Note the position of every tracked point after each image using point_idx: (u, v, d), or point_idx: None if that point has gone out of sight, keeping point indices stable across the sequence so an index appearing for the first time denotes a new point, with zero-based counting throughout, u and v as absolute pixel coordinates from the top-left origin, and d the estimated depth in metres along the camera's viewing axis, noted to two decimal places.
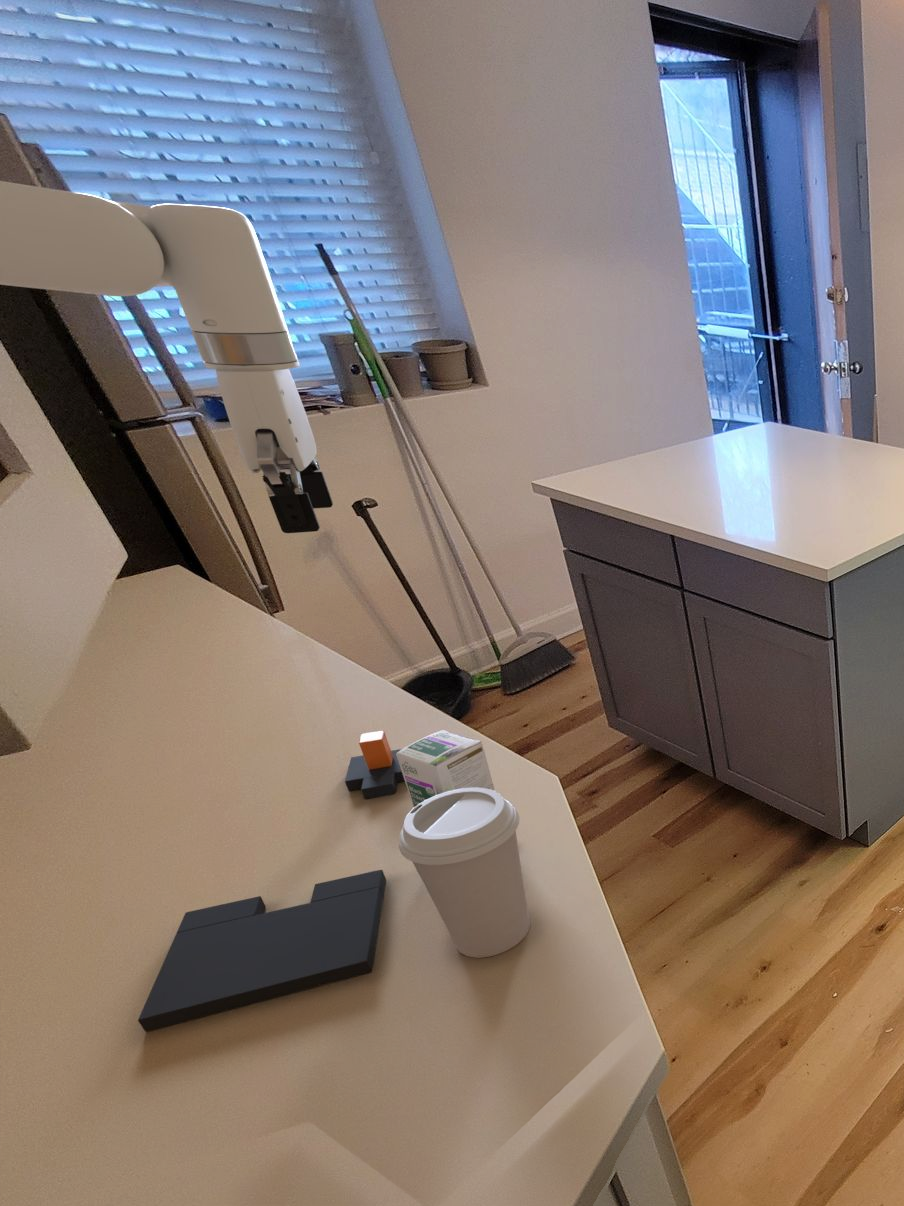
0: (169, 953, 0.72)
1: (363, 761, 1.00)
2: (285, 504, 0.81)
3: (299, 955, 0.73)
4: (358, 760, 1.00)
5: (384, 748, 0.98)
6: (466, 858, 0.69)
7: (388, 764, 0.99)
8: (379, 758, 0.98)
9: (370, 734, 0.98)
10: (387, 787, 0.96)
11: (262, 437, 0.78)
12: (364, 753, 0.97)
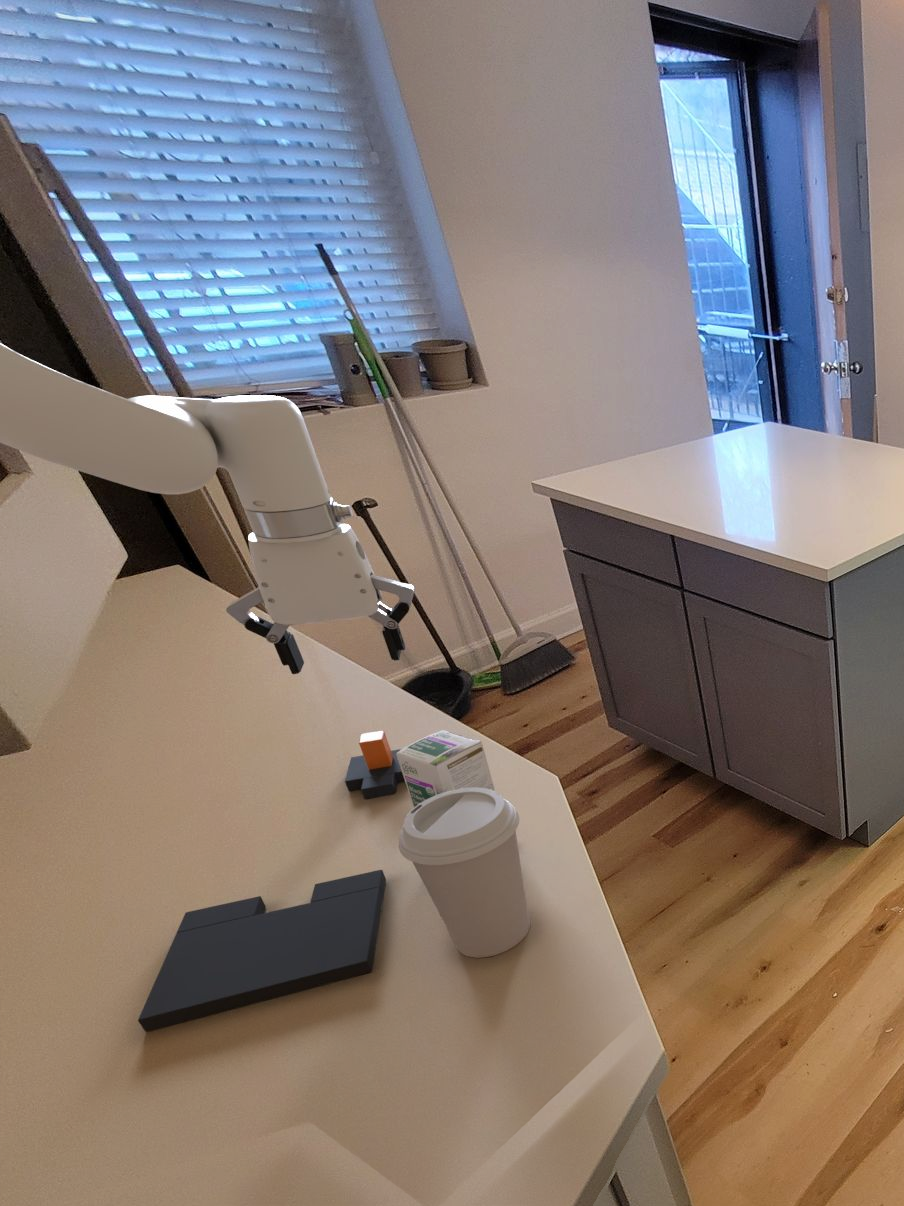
0: (169, 953, 0.72)
1: (363, 761, 1.00)
2: None
3: (299, 955, 0.73)
4: (358, 760, 1.00)
5: (384, 748, 0.98)
6: (466, 858, 0.69)
7: (388, 764, 0.99)
8: (379, 758, 0.98)
9: (370, 734, 0.98)
10: (387, 787, 0.96)
11: (255, 589, 0.86)
12: (364, 753, 0.97)
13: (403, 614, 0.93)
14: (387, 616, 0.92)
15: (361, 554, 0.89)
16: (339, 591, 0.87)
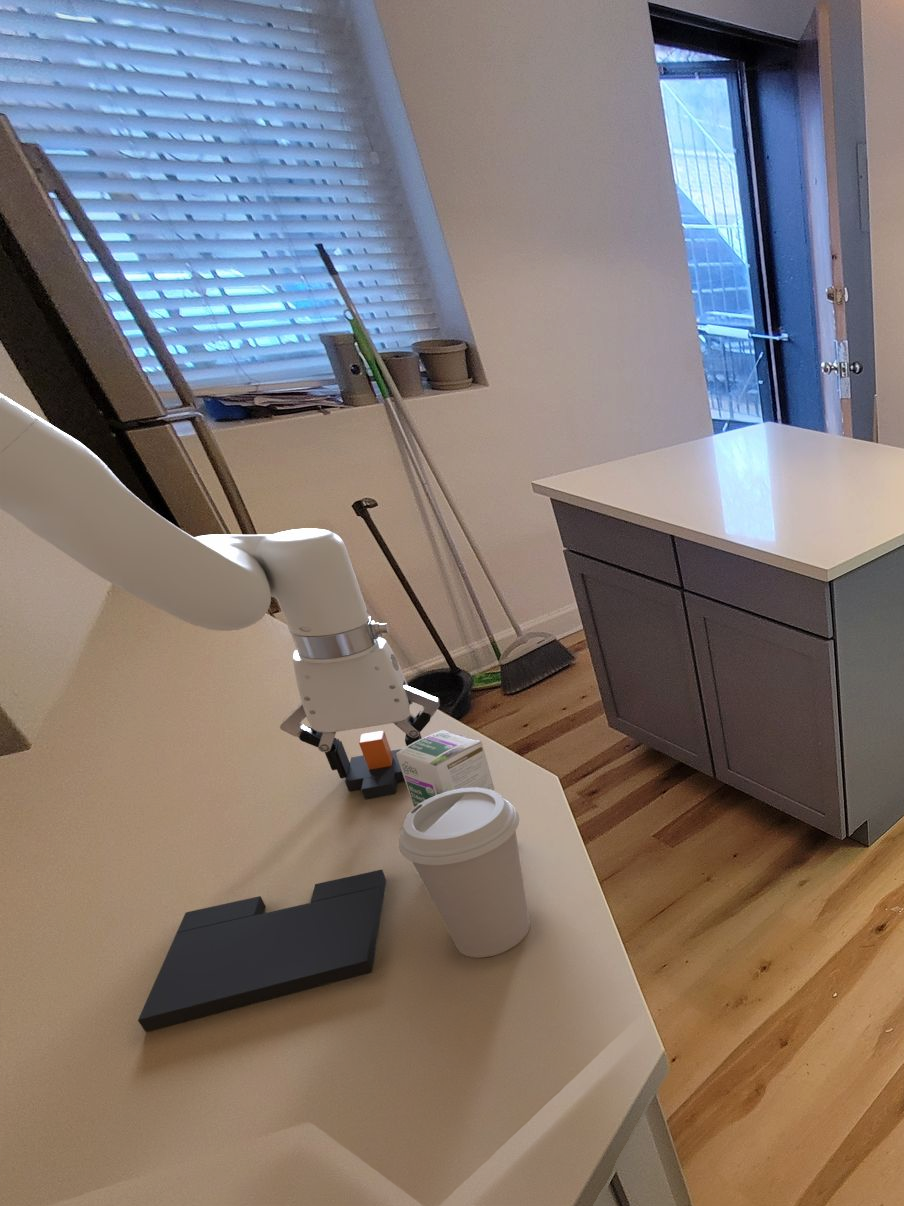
0: (169, 953, 0.72)
1: (363, 761, 1.00)
2: None
3: (299, 955, 0.73)
4: (358, 760, 1.00)
5: (384, 748, 0.98)
6: (466, 858, 0.69)
7: (388, 764, 0.99)
8: (379, 758, 0.98)
9: (370, 734, 0.98)
10: (387, 787, 0.96)
11: (300, 704, 0.93)
12: (364, 753, 0.97)
13: (424, 723, 0.99)
14: (412, 726, 0.98)
15: (395, 665, 0.96)
16: (375, 701, 0.94)
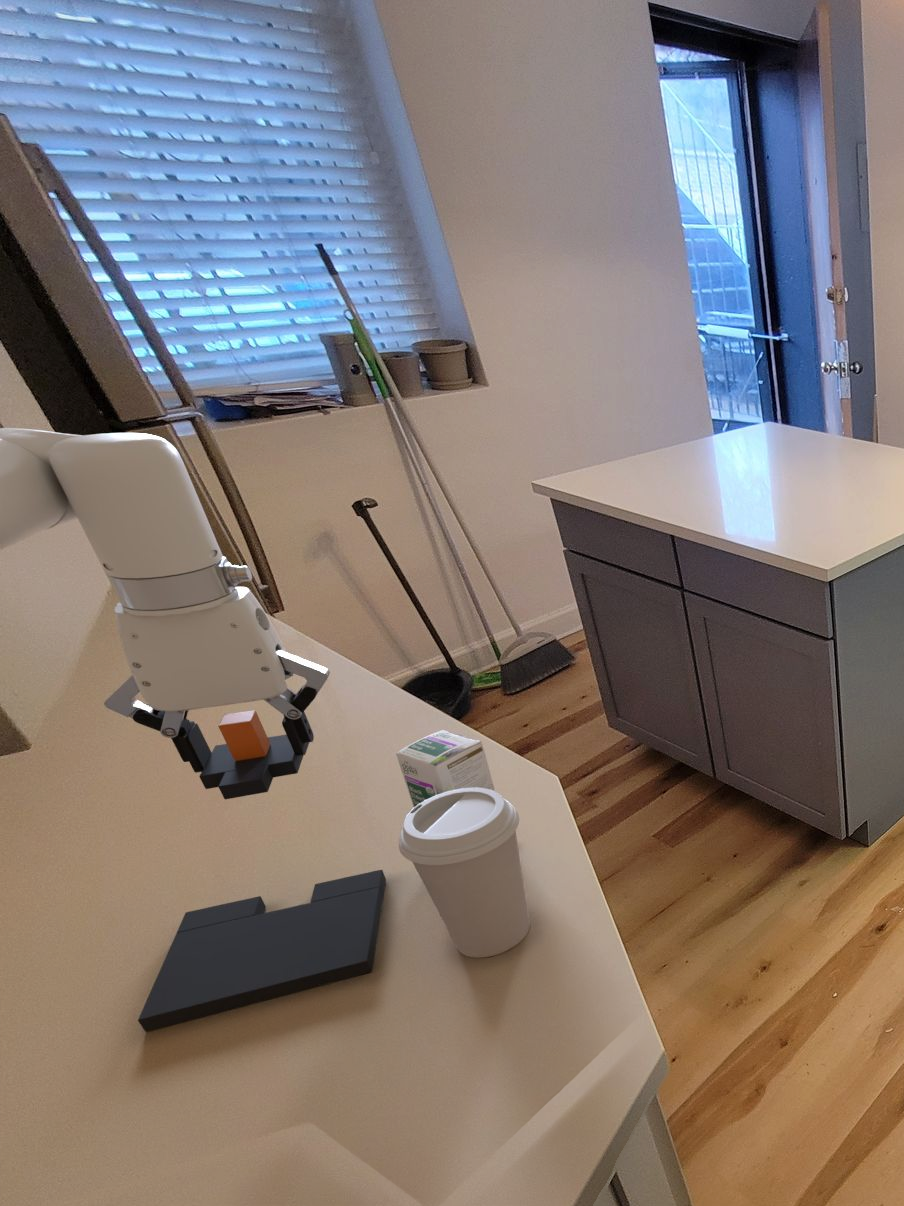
0: (169, 953, 0.72)
1: (230, 750, 0.77)
2: None
3: (299, 955, 0.73)
4: (224, 748, 0.77)
5: (254, 733, 0.75)
6: (466, 858, 0.69)
7: (261, 754, 0.76)
8: (248, 746, 0.75)
9: (236, 715, 0.75)
10: (255, 784, 0.73)
11: None
12: (226, 739, 0.74)
13: (308, 701, 0.76)
14: (290, 704, 0.75)
15: (264, 623, 0.73)
16: (234, 670, 0.71)
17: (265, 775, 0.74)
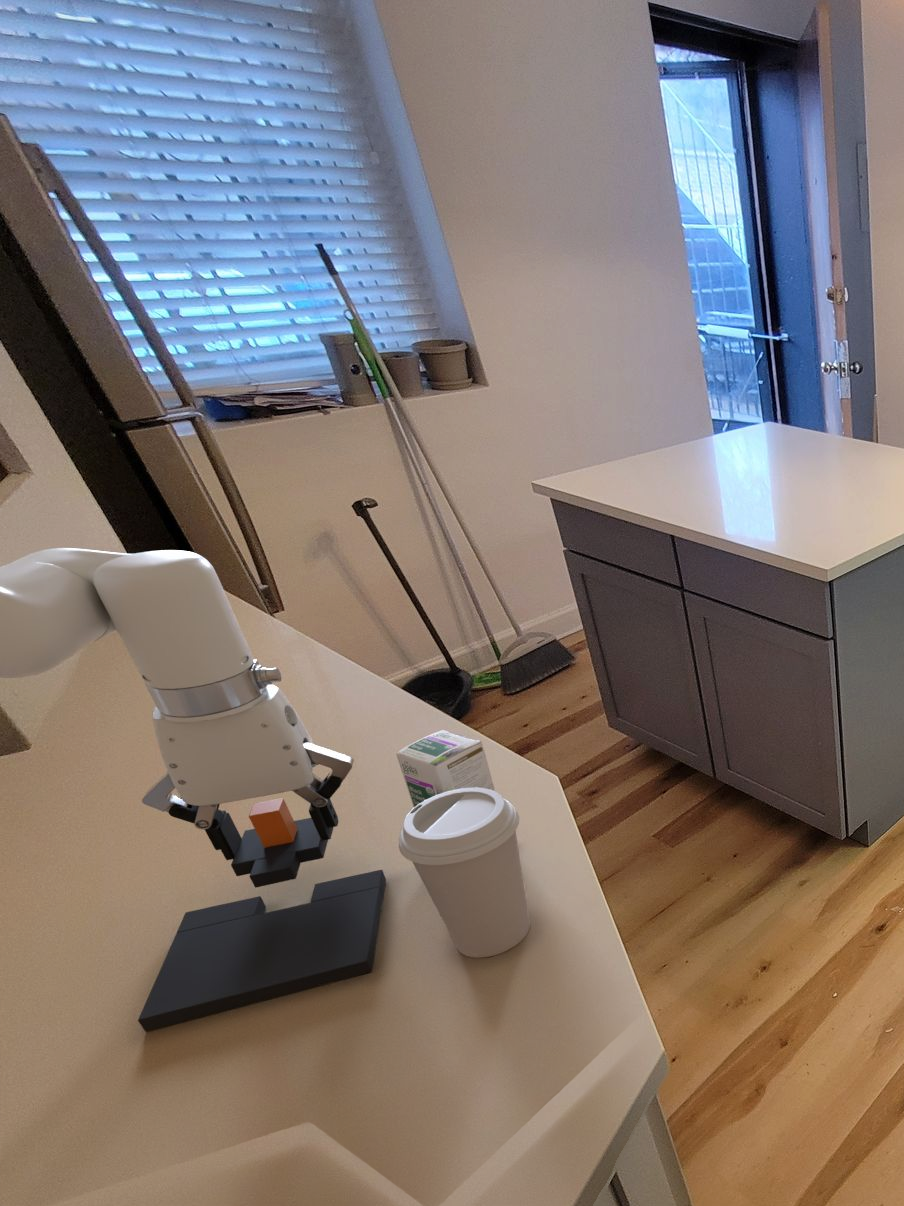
0: (169, 953, 0.72)
1: (259, 836, 0.80)
2: None
3: (299, 955, 0.73)
4: (253, 834, 0.81)
5: (282, 821, 0.79)
6: (466, 858, 0.69)
7: (289, 840, 0.80)
8: (277, 834, 0.79)
9: (265, 804, 0.79)
10: (284, 872, 0.77)
11: None
12: (256, 828, 0.78)
13: (334, 789, 0.80)
14: (317, 793, 0.79)
15: (292, 718, 0.76)
16: (264, 766, 0.74)
17: (293, 862, 0.78)
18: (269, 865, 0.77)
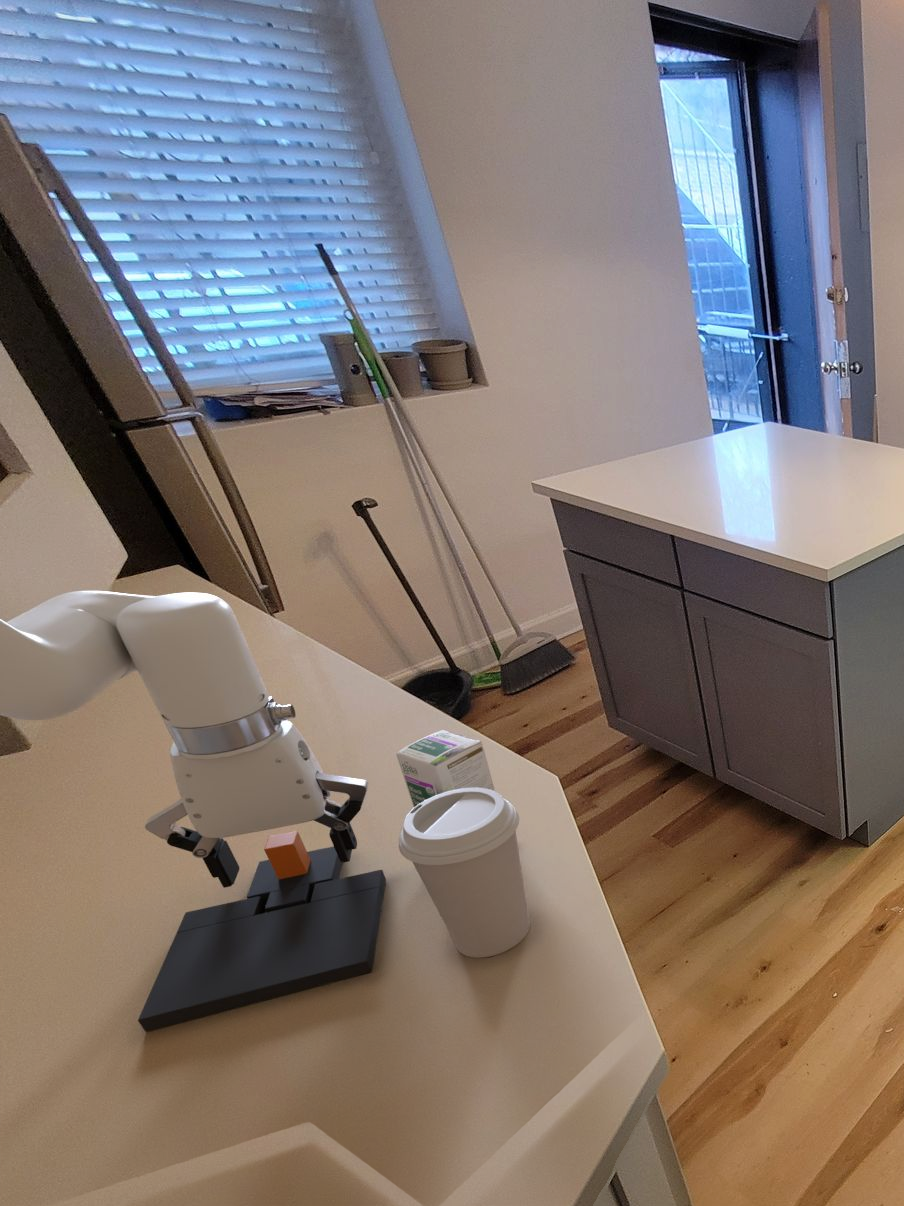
0: (169, 953, 0.72)
1: None
2: None
3: (299, 955, 0.73)
4: (267, 865, 0.83)
5: (297, 854, 0.81)
6: (466, 858, 0.69)
7: (303, 872, 0.82)
8: (291, 866, 0.81)
9: (280, 836, 0.81)
10: (298, 904, 0.79)
11: (179, 801, 0.75)
12: (271, 861, 0.80)
13: (354, 813, 0.82)
14: (335, 818, 0.81)
15: (305, 752, 0.78)
16: (278, 800, 0.76)
17: (307, 894, 0.80)
18: (284, 897, 0.79)
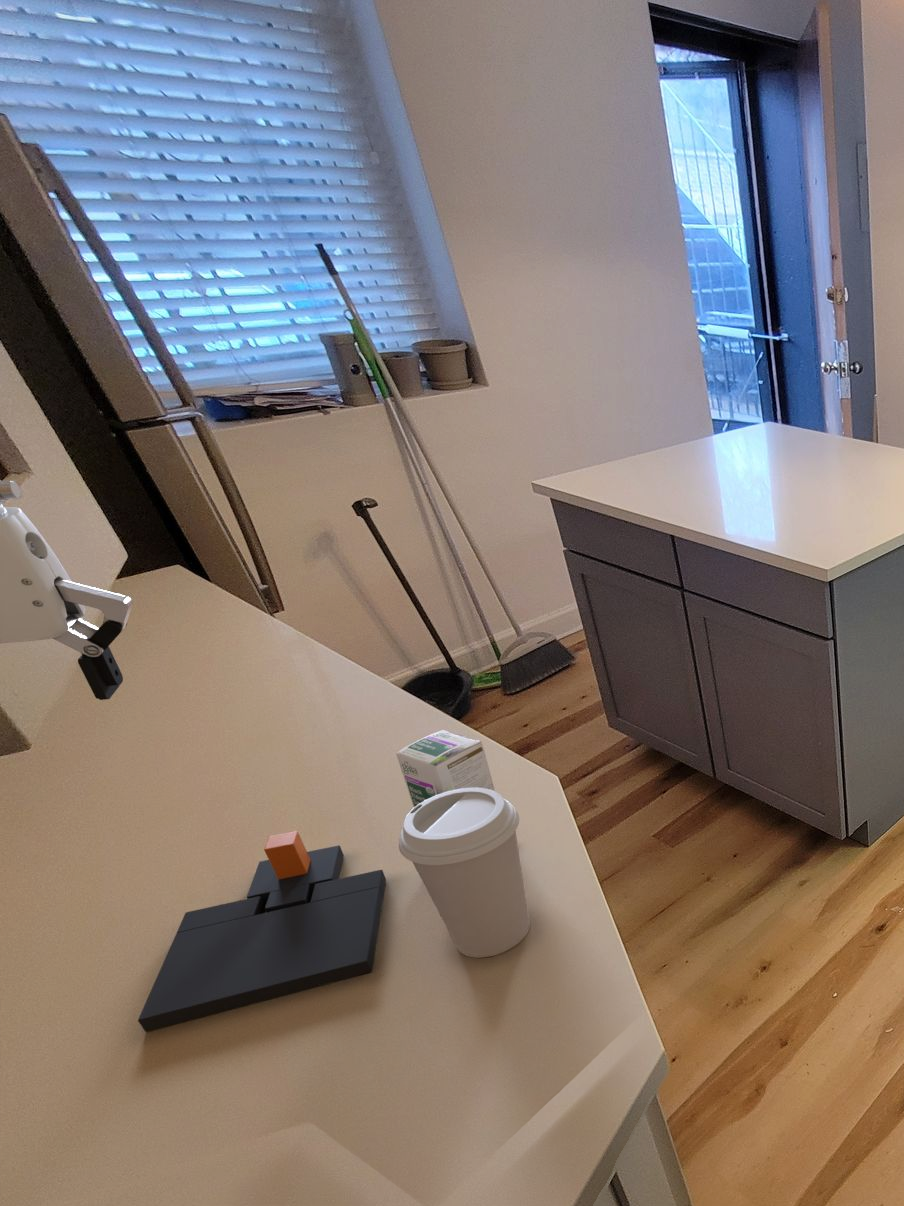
0: (169, 953, 0.72)
1: None
2: None
3: (299, 955, 0.73)
4: (267, 865, 0.83)
5: (297, 854, 0.81)
6: (466, 858, 0.69)
7: (303, 872, 0.82)
8: (291, 866, 0.81)
9: (280, 836, 0.81)
10: (298, 904, 0.79)
11: None
12: (271, 861, 0.80)
13: (112, 636, 0.66)
14: (84, 639, 0.65)
15: (41, 551, 0.63)
16: None
17: (307, 894, 0.80)
18: (284, 897, 0.79)
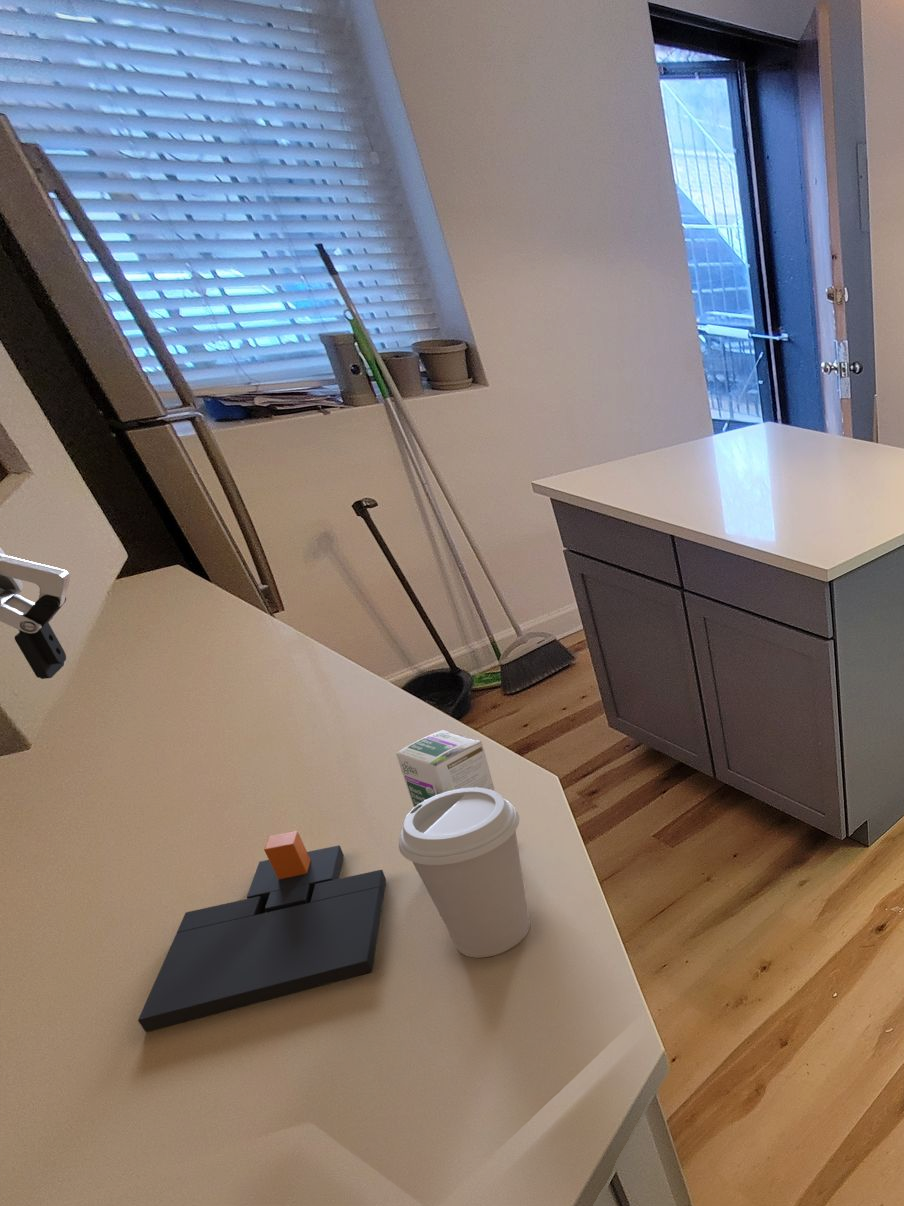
0: (169, 953, 0.72)
1: None
2: None
3: (299, 955, 0.73)
4: (267, 865, 0.83)
5: (297, 854, 0.81)
6: (466, 858, 0.69)
7: (303, 872, 0.82)
8: (291, 866, 0.81)
9: (280, 836, 0.81)
10: (298, 904, 0.79)
11: None
12: (271, 861, 0.80)
13: (49, 612, 0.64)
14: (20, 614, 0.63)
15: None
16: None
17: (307, 894, 0.80)
18: (284, 897, 0.79)
